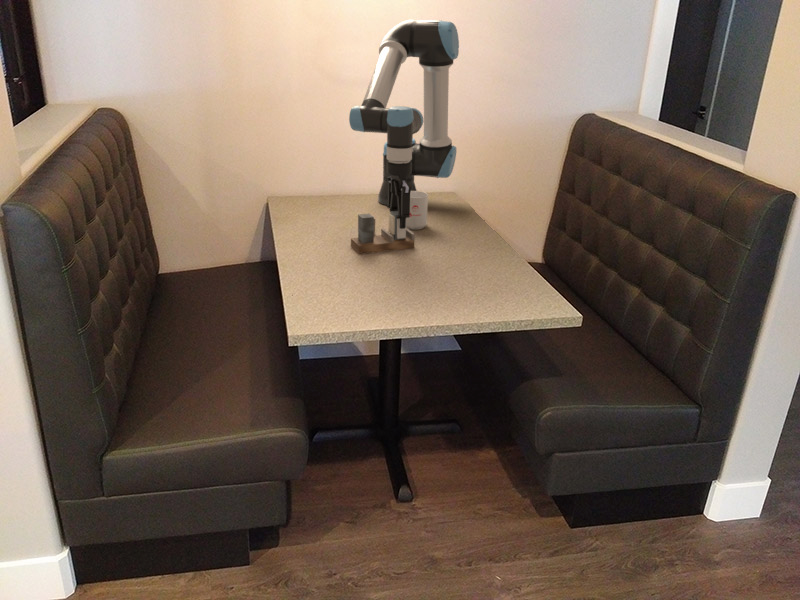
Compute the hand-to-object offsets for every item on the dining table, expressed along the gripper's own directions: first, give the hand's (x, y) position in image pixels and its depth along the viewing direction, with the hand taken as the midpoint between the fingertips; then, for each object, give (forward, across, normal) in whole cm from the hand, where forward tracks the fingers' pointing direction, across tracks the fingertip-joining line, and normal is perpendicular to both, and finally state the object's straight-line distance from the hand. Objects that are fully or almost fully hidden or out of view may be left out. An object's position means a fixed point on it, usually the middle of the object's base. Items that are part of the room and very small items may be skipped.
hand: (397, 235), depth 220 cm
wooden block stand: (+3, 0, +5) cm, 6 cm away
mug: (+4, +17, -11) cm, 21 cm away
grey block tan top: (+1, 0, 0) cm, 1 cm away
